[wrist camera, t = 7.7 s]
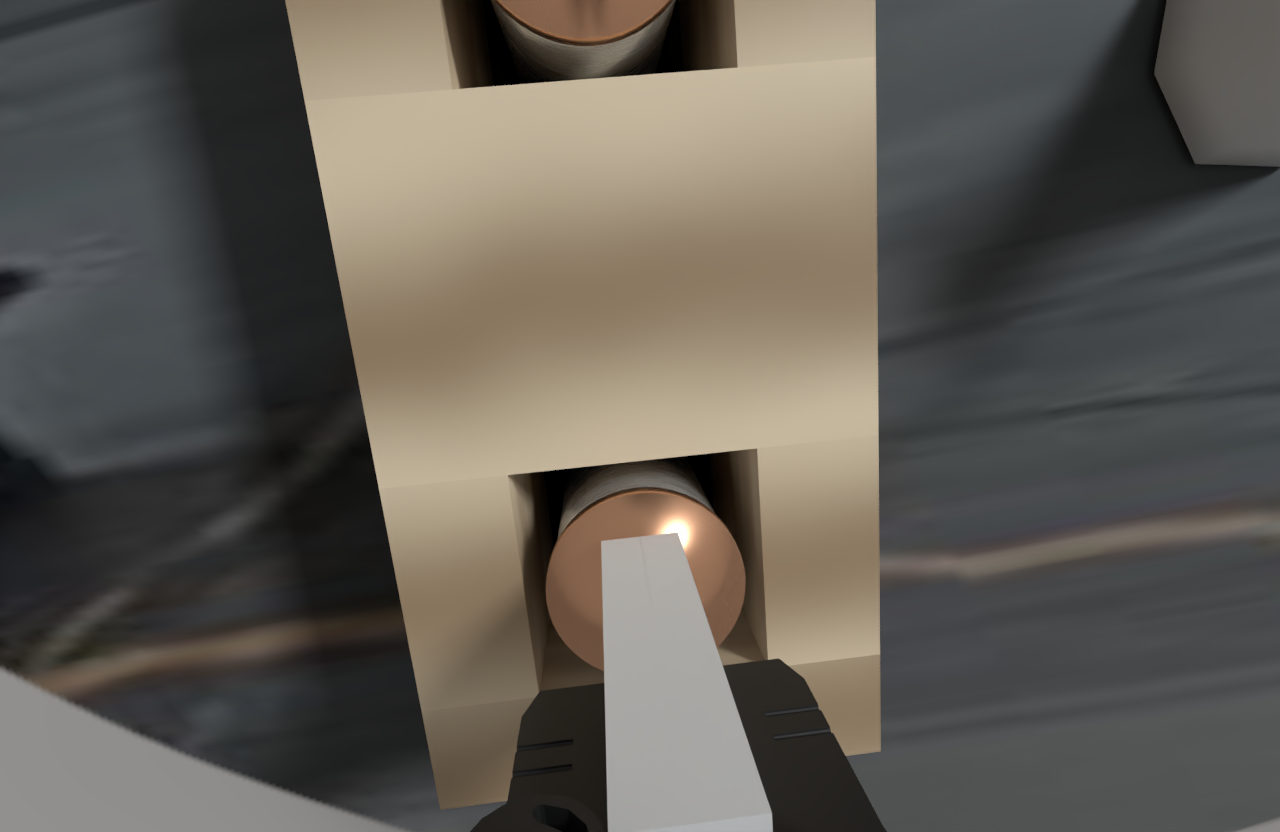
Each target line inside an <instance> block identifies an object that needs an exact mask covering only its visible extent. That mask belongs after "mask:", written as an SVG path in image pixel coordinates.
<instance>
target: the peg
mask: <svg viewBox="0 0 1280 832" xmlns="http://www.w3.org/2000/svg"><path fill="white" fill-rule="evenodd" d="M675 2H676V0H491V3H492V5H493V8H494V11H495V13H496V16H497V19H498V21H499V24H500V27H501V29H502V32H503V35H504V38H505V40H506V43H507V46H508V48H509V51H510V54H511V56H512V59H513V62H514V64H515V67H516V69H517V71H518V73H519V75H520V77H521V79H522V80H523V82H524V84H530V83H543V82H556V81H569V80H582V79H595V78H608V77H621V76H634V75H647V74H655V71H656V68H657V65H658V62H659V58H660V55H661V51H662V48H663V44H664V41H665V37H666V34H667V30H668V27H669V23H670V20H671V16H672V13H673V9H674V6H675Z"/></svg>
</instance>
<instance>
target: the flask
mask: <svg viewBox="0 0 1280 832" xmlns="http://www.w3.org/2000/svg"><path fill="white" fill-rule="evenodd" d="M1154 75H1155V77H1156V79H1157V81H1158V83H1159V86H1160V88H1161V90H1162V92H1163V94H1164V97H1165V99H1166V101H1167V103H1168V105H1169V108H1170V110H1171V112H1172V114H1173V116H1174V119H1175V121H1176V123H1177V125H1178V127H1179V130H1180V132H1181V134H1182V136H1183V138H1184V141H1185V143H1186V145H1187V147H1188V149H1189V152H1190V154H1191V156H1192V158H1193V160H1194V162H1195V164H1212V165H1243V166H1274V167H1280V0H1167V2H1166V8H1165V14H1164V19H1163V25H1162V31H1161V37H1160V42H1159V48H1158V54H1157V59H1156V65H1155V71H1154Z"/></svg>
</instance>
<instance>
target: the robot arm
mask: <svg viewBox="0 0 1280 832" xmlns="http://www.w3.org/2000/svg"><path fill="white" fill-rule="evenodd" d="M601 558H602V600H603V643H604V683H599V684H591V685H583V686H575V687H567V688H559V689H551V690H543V691H540V692H539V693H538V694H537V696H536V697H535V699H534V700H533V702H532V703H531V704H530V706H529V707H528V709H527V710H526V711H525V713H524V714H523V716H522V717H521V723H520V729H519V735H518V741H517V752H516V753H515V758H514V764H513V770H512V778H511V782H510V788H509V794H508V800H507V803H506V804H505V805H503V806H501V807H500V808H498V809H497V810H495V811H493V812H492V813H490V814H489V815H487V816H485V817H484V818H482V819H481V820H480V821H479V823H478V824H477V825H476V826H475V827H474V828H473V829H472V830H471V831H470V832H887V831H886V830H885V828H884V827H883V825H882V824H881V822H880V820H879V818H878V816H877V814H876V812H875V811H874V809H873V807H872V805H871V803H870V801H869V799H868V797H867V795H866V794H865V792H864V790H863V788H862V786H861V784H860V782H859V780H858V779H857V777H856V775H855V773H854V771H853V769H852V767H851V765H850V763H849V762H848V760H847V758H846V756H845V754H844V752H843V750H842V748H841V747H840V745H839V743H838V741H837V739H836V737H835V735H834V733H831V730H830V726H829V724H828V722H827V720H826V718H825V716H824V715H823V713H822V711H821V710H819V707H818V703H817V701H816V699H815V698H814V696H813V694H812V692H811V690H810V688H809V686H808V684H807V683H806V681H805V679H804V678H803V677H802V676H801V675H799V674H798V673H797V672H796V671H794V670H793V669H792V668H790V667H789V666H788V665H787V664H785V663H784V662H783V661H782V660H780V659H779V658H778V659H770V660H762V661H754V662H746V663H738V664H730V665H722V662H721V659H720V656H719V653H718V650H717V647H716V644H715V641H714V638H713V635H712V632H711V629H710V626H709V623H708V620H707V617H706V614H705V611H704V609H703V606H702V603H701V600H700V597H699V594H698V591H697V588H696V585H695V582H694V579H693V576H692V573H691V570H690V567H689V564H688V561H687V558H686V555H685V552H684V549H683V546H682V543H681V540H680V537H679V534H678V532H676V533H667V534H658V535H649V536H640V537H632V538H623V539H614V540H605V541H601Z"/></svg>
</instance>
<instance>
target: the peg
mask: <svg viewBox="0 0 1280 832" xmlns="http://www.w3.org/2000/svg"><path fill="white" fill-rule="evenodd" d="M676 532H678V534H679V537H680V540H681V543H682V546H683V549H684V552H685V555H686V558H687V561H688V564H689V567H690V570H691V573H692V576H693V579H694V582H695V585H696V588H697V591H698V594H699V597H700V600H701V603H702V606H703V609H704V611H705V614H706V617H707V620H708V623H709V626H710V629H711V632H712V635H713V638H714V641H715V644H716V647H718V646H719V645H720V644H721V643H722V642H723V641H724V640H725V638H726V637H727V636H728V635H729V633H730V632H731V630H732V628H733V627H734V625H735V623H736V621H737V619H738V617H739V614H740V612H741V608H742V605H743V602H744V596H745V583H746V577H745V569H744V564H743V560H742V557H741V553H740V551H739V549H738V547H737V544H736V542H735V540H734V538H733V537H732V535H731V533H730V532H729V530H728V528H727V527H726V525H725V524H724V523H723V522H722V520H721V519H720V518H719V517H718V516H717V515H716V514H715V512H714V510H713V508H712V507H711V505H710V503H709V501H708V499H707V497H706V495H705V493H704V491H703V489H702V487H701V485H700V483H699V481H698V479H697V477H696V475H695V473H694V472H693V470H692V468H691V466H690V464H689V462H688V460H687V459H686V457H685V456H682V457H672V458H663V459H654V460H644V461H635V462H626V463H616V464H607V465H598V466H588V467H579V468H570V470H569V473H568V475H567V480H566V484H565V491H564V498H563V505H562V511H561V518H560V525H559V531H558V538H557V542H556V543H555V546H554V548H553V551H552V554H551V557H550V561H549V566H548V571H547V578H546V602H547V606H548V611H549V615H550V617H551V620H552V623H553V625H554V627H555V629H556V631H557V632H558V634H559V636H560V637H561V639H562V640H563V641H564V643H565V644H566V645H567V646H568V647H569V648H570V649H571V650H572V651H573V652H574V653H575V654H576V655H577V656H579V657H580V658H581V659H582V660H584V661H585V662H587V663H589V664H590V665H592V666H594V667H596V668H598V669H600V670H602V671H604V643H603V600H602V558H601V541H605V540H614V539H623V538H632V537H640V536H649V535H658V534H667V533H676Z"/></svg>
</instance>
